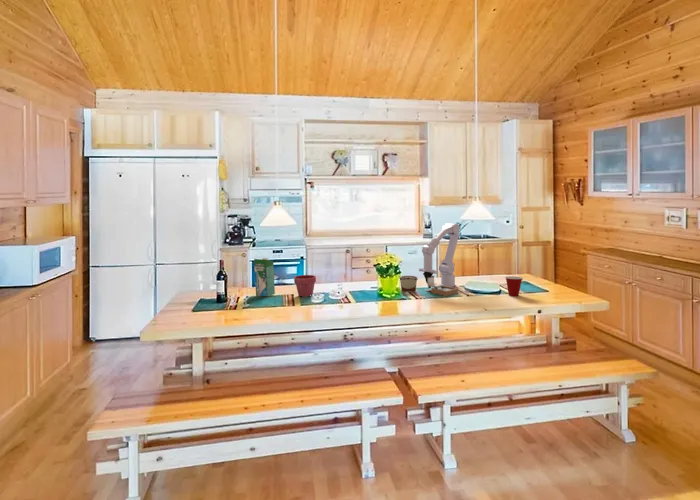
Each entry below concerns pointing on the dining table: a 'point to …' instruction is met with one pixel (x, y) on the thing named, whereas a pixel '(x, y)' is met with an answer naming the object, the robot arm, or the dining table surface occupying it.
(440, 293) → the dock
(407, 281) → the food container
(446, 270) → the robot arm
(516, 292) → the plastic cup
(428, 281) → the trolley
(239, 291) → the dining table surface
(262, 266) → the milk carton
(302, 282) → the plant pot
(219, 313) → the dining table surface
